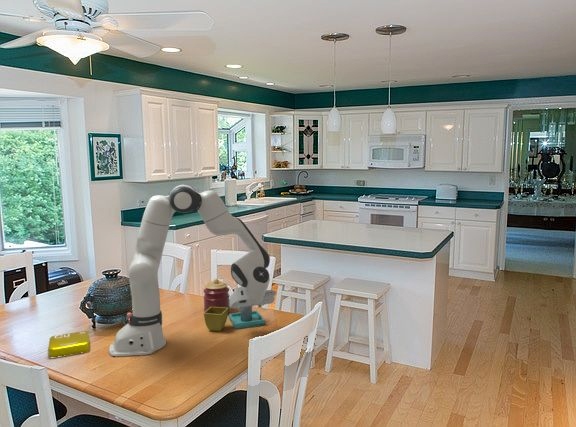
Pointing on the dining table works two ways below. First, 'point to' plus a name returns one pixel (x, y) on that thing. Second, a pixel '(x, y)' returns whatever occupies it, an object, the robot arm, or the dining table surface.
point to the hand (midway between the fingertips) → (249, 307)
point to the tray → (238, 324)
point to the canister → (216, 295)
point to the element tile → (69, 344)
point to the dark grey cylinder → (246, 314)
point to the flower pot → (215, 318)
